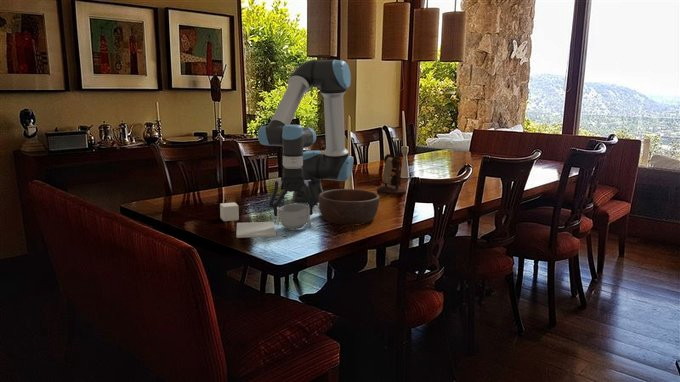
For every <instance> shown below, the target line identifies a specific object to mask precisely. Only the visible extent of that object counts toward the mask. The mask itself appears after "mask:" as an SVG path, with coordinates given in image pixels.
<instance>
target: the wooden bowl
mask: <svg viewBox="0 0 680 382" xmlns="http://www.w3.org/2000/svg"><path fill="white" fill-rule="evenodd" d="M318 199H319V202H318V205H319V206H318V207H319V210H320V214H321V216H322V217H323V219H324V220H325V221H327V222H329V223H331V224H334V223H335V225H341V224H344V226H356V225H355V224H360V225H363V224H362V223H365V224H368V223H371V222H372V221H373V220H374V218H375V217H376V215H377V212H378V210H379V209H378V208H379V206H380V205H379V204H380V194H379V193H377V192H374V191H371V190H365V189H357V188H335V189H329V190H323V192H321V193H320V194H319V195H318ZM367 222H368V223H367Z"/></svg>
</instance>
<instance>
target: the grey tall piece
mask: <svg viewBox="0 0 680 382" xmlns="http://www.w3.org/2000/svg"><path fill="white" fill-rule="evenodd" d="M383 162H384V168H383V178H382V179H383V180H382V181H383V183H384V185H381V186H378V187H377V188H376V193H377V192H378V193H377V194H383V195H387V196H388V195H390V196H392V195H394V196H395V195H397V196H398V195H404V194H405V195H406V193H407V189H406V188H405V187H402V186H399V184H400V183H401V176H400V174H401V169H400V165H401V163H402V159H401V157H400V156H398V155H394V156H393V155H392V154H390V153H388V154H386V155H385V156H384V157H383ZM393 173H395V174H393Z"/></svg>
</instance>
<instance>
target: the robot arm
mask: <svg viewBox="0 0 680 382" xmlns="http://www.w3.org/2000/svg"><path fill="white" fill-rule="evenodd" d="M351 80H352V75H351V70H350V67H349V64H348V63H347V62H346V61H344V60H341V59H339V60H338V59H311V60H307V61H305V62H303V63H301V64H300V65H299V66H297V68H296V69H295V70H294V71H293V72H292V73H291V74H290V76H289V78H288V80H287V85H288V86H287V87H286V90H285V92H284V94H283V96H282V98H281V100H280V102H279V104H278V105H277V108H276V110H275V111H274V114H273V115H272V116H271V117H272V118H271V119H270V121H269V123H268V125H262V126H260V127H259V128H258V131H257V139H258V142H259V143H260V145H263V146H269V147H273V146H274V147H282V166H283V168H282V180H274V182H273V183H274V184H273V185H274V188H273V191H272V193H271V196H270V199H269V202H268V207H270V208H273V216H274V217H276V226H280V212H279V208H280V205H281V202H282V200H283V199H284V198H285V196H286V194H288V192H289V193H291V192H293V193H292V201H293V202H294V203H298V204H307V206H308V222H307V223H306V224H307V225H310V224H311V216H312V215H313V212H314V209H313V207H314V206H315V207H316V206H317V205H318V204H319V199H318V195H319V194H320V193H321V192H323V191H324V190H323V186H322V180H325V181H327V180H328V181H337V182H346V181H348V180H349V179H350V177H351V175H352V172H353V167H354V157H353V156H351V155H349V153H350V152H349V150H348V149H347V148H346V140H345V139H346V137H345V135H346V134H345V110H344V107H345V106H344V105H345V104H344V95H345V94H346V92H347V89H349V88H350V86H351V84H352V82H351ZM312 88H319V93H320V94H321V95H322V96H323V111H324V113H323V114H324V130H325V135H324V136H325V149H324V150H323V151H321V150H308V151H307V150H306V151H304V149H305V148H309V147H311V146H312V145H314V144H315V142H317V141H316V140H317V133H316V131H315V130H314V129H313V128H311V127H309V126H308V127H307V126H304V127H303V126H302V125H301V124H291V123H292V120H293V119H294V116H295V114H296V112H297V110H298V108H299V106H300V104H301V101H302V100H303V97H304V95H305V94H306V93H308V91H309V90H310V89H312ZM322 152H323V153H322ZM281 185H282V186H283V189H282V191H281V192H280V194H279V196H277V193H278V191H279V188H280V187H281ZM276 196H277V199H276ZM275 199H276V200H275ZM274 201H275V202H274Z"/></svg>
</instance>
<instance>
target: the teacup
mask: <svg viewBox="0 0 680 382" xmlns="http://www.w3.org/2000/svg"><path fill="white" fill-rule="evenodd" d="M308 206H309V205H308V204H305V203H298V202H294V203H290V204H285V205H282V206H279V221H280V223H281V225H282V226H283V227H285V229H287V230H298V229H303V228H304V227H305V226H306V225H307V224H308V223H307V222H308Z"/></svg>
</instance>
